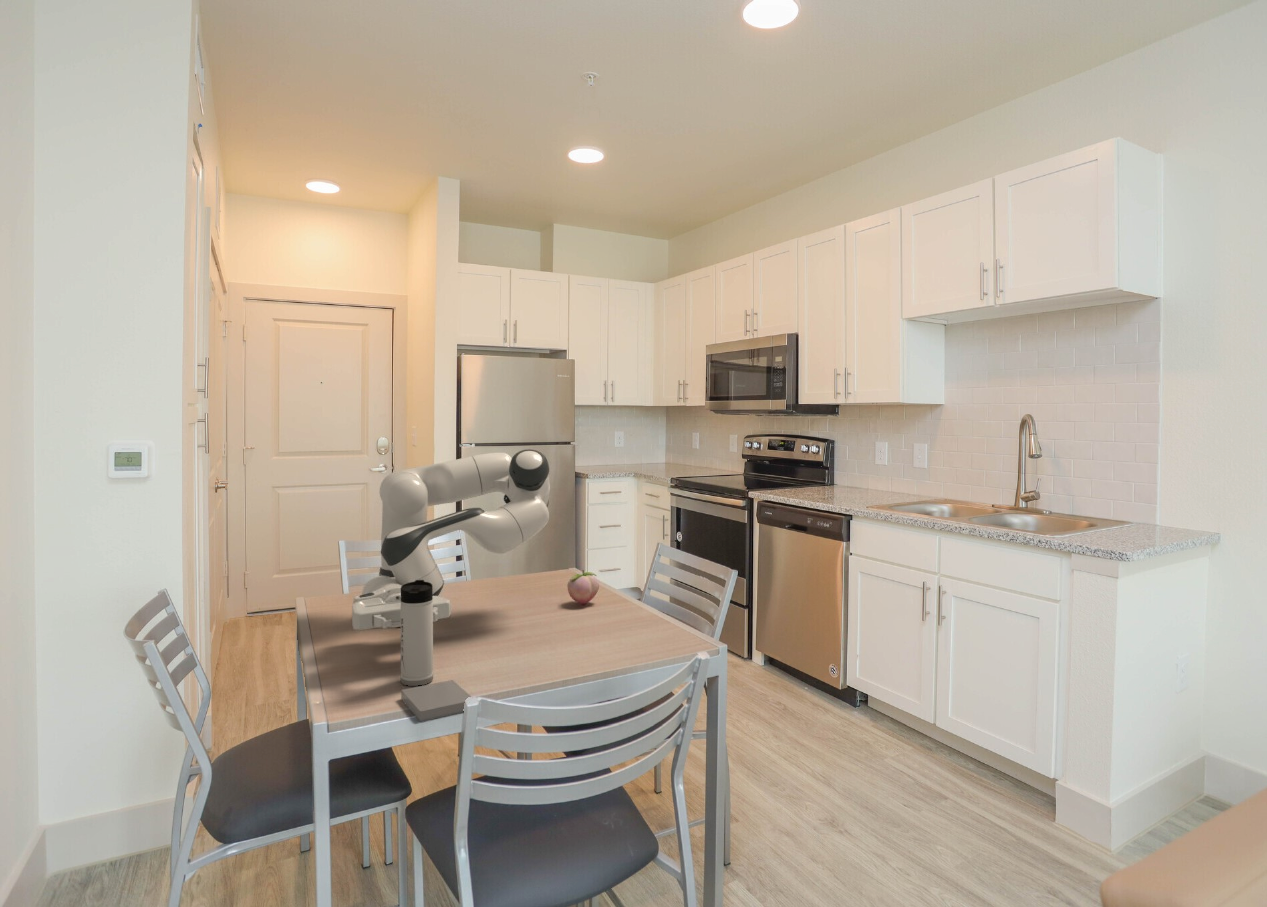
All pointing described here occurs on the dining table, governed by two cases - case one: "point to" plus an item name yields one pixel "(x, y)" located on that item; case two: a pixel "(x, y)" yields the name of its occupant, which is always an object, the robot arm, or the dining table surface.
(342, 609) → the dining table surface
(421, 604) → the travel mug
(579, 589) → the decorative fruit
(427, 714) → the tile
